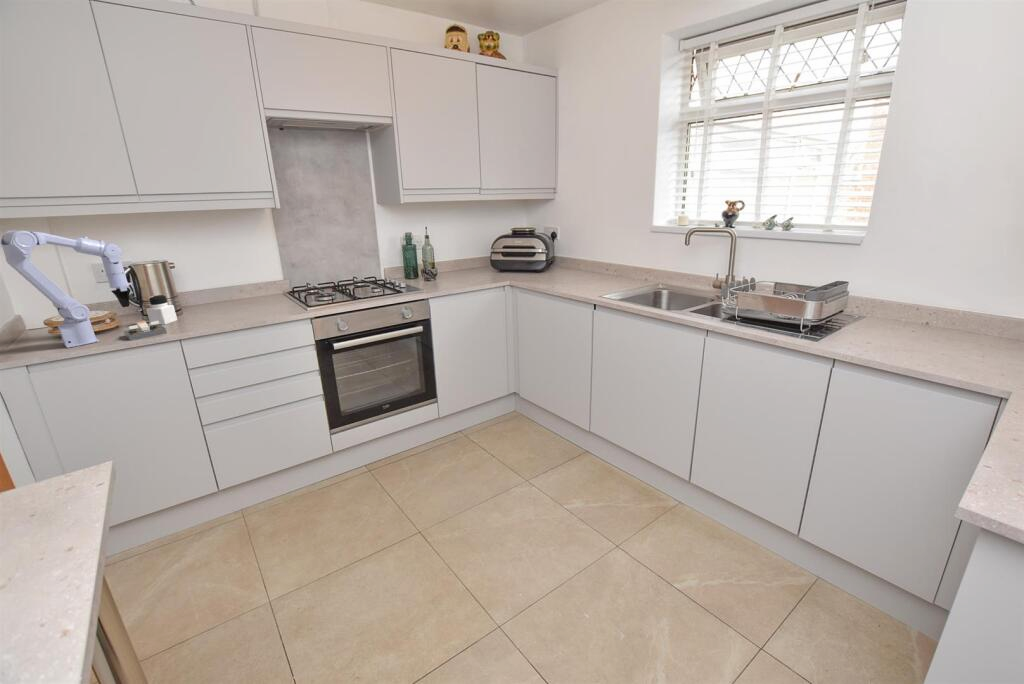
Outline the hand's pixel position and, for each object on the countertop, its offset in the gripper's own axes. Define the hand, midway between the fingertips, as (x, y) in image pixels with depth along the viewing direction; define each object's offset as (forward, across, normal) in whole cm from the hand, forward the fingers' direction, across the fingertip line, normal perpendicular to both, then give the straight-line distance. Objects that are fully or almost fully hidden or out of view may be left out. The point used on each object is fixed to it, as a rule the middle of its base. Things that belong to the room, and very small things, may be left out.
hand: (125, 306), depth 192 cm
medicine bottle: (+11, +5, -12) cm, 17 cm away
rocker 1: (+7, -12, +2) cm, 13 cm away
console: (+10, -12, -2) cm, 16 cm away
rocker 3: (+7, -12, -6) cm, 14 cm away
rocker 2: (+7, -12, -2) cm, 14 cm away
